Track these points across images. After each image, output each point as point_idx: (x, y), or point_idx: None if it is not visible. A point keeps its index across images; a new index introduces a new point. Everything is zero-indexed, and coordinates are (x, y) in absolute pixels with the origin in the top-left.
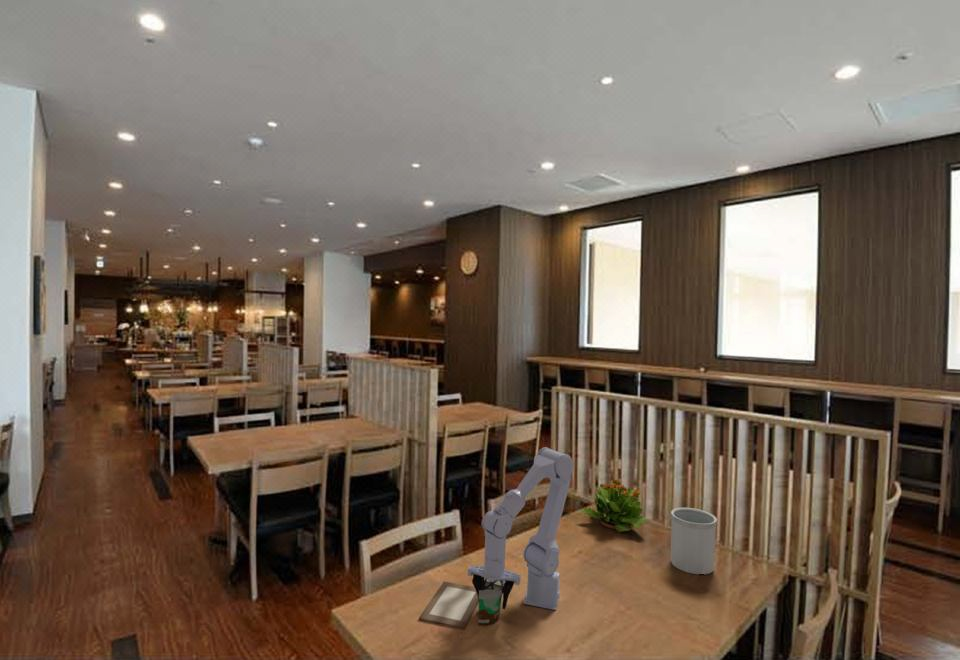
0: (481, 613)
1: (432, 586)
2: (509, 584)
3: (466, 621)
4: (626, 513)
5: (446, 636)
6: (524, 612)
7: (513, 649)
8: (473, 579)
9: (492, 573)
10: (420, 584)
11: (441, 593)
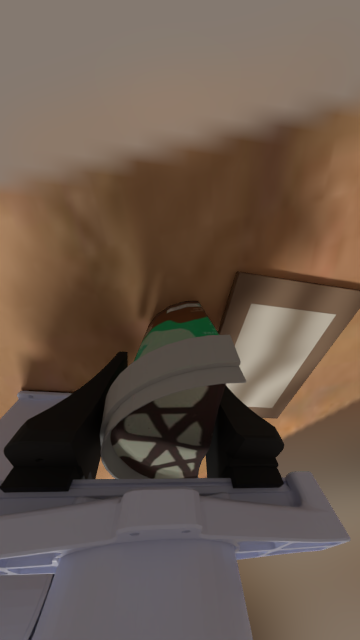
0: (194, 313)
1: (298, 403)
2: (36, 464)
3: (233, 303)
4: None
5: (297, 223)
6: (90, 370)
7: (56, 189)
8: (274, 452)
9: (144, 618)
10: (322, 403)
11: (287, 388)
